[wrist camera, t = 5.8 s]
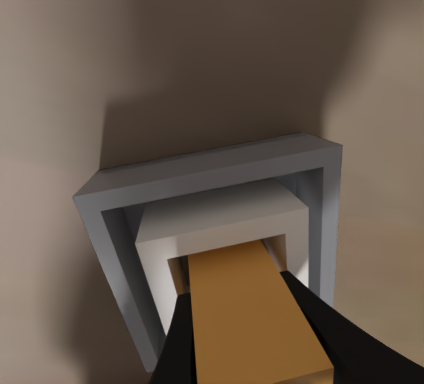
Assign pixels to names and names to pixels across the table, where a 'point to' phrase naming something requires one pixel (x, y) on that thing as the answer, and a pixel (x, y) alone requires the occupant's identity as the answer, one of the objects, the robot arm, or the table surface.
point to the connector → (250, 321)
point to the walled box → (211, 221)
